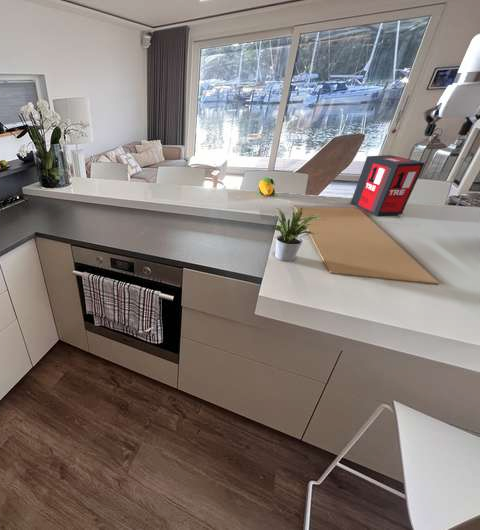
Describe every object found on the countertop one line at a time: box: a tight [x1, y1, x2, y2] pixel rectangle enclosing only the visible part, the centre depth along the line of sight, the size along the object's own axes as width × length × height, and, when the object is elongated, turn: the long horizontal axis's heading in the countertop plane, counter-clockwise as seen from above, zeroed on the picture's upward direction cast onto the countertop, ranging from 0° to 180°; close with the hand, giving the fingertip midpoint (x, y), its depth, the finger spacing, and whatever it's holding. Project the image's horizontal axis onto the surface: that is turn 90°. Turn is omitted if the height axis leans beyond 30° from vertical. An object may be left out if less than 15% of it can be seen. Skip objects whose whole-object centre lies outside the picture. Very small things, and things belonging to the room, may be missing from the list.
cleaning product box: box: [350, 154, 426, 217], centre depth 115 cm, size 16×9×20 cm, turn 176°
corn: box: [258, 177, 276, 197], centre depth 144 cm, size 7×8×20 cm
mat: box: [294, 205, 440, 285], centre depth 101 cm, size 24×58×1 cm, turn 161°
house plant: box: [270, 206, 324, 262], centre depth 85 cm, size 14×14×16 cm
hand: (444, 135), depth 103 cm, fingers open, 9 cm apart
